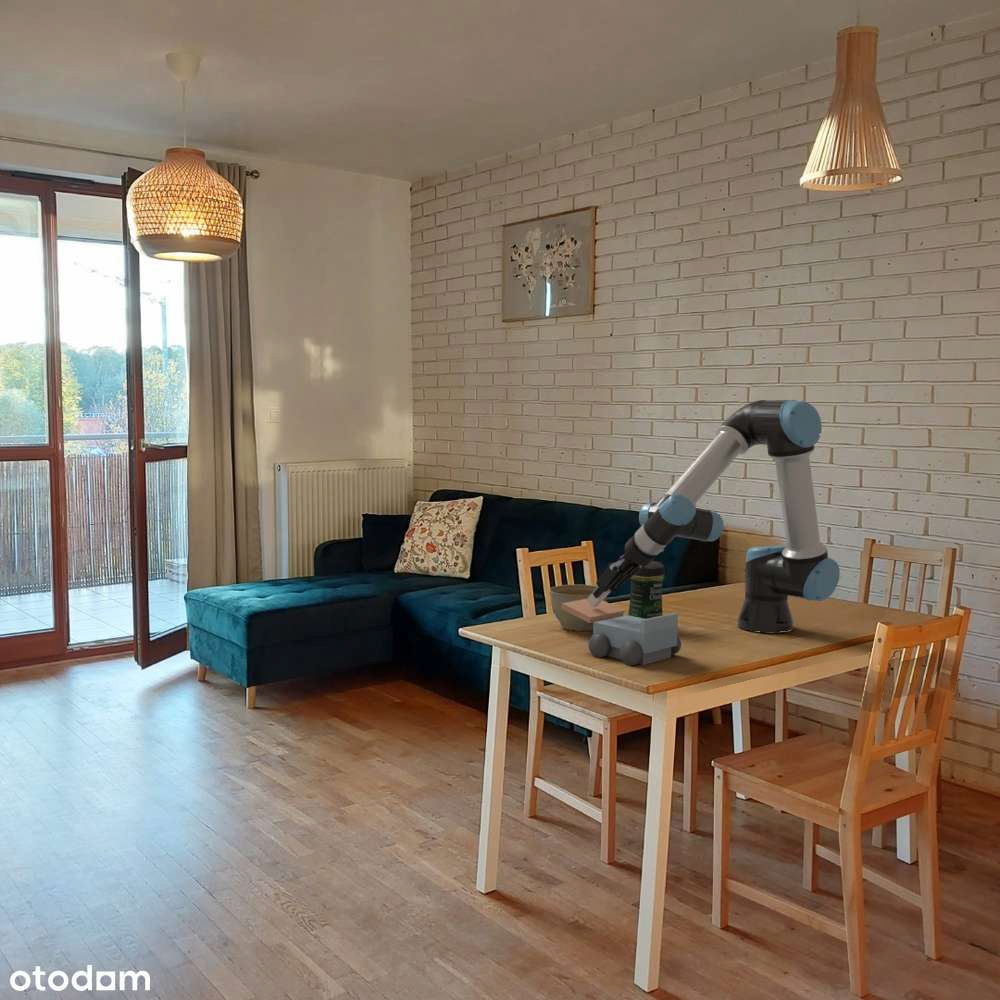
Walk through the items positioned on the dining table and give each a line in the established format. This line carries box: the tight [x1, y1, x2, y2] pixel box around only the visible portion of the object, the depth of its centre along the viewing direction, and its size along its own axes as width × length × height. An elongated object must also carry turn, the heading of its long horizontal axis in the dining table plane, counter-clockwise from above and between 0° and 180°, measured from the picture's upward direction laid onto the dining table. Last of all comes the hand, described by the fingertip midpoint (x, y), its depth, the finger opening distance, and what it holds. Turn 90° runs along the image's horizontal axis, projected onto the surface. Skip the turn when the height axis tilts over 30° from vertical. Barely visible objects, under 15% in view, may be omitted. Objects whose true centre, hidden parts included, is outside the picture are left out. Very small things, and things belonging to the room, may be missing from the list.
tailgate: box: [561, 599, 625, 623], centre depth 260 cm, size 2×13×10 cm
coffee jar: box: [627, 560, 665, 619], centre depth 282 cm, size 10×8×19 cm
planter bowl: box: [548, 584, 608, 632], centre depth 280 cm, size 16×16×11 cm
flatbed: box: [588, 612, 682, 667], centre depth 250 cm, size 16×17×11 cm
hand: (591, 603), depth 259 cm, fingers closed
